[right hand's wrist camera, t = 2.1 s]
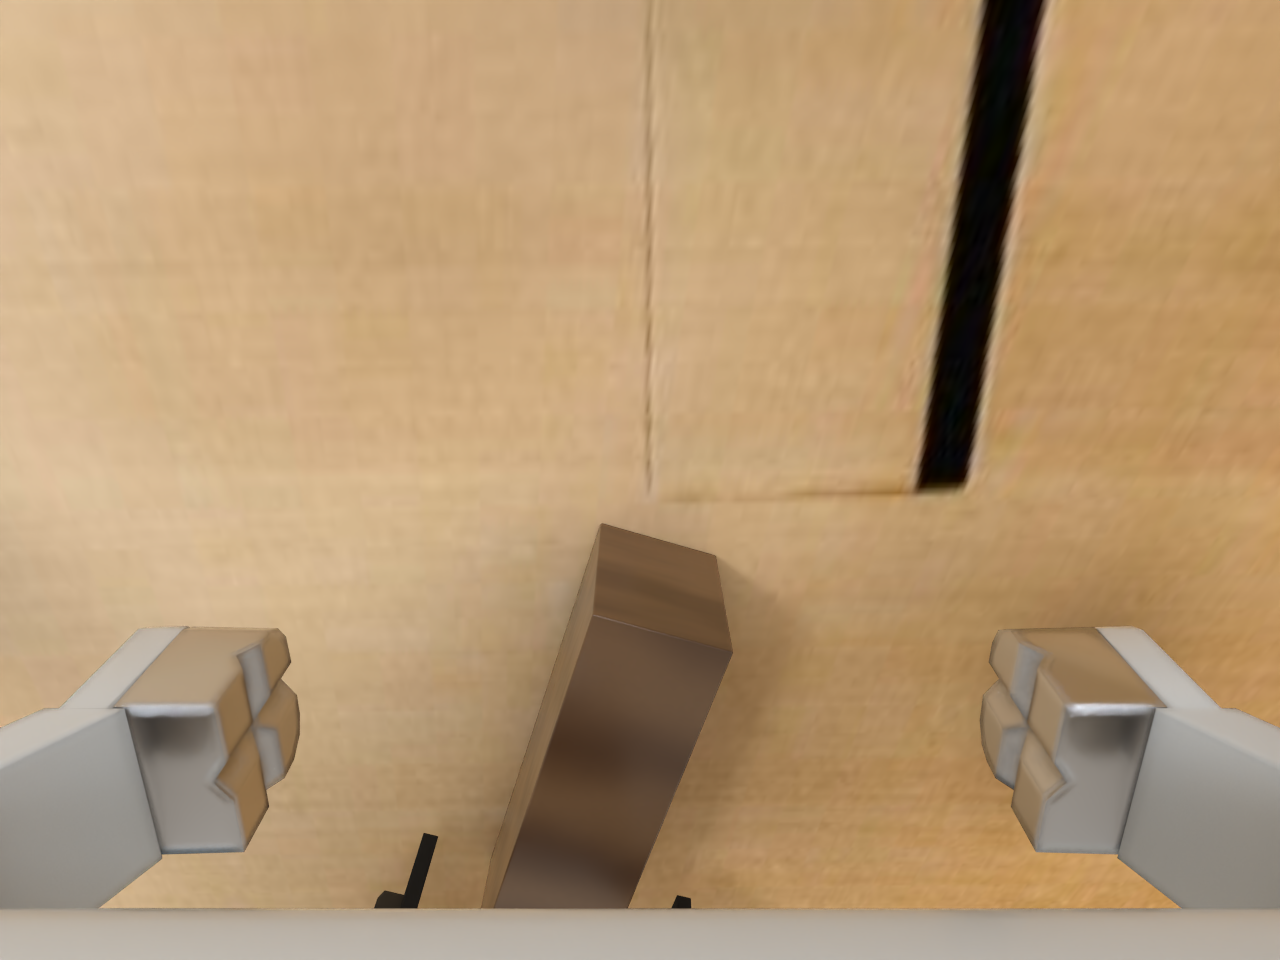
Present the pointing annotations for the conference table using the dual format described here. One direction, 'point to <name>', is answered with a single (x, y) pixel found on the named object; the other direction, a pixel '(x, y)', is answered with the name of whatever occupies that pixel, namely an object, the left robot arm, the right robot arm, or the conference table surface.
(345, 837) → the conference table surface
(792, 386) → the conference table surface
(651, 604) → the box
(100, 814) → the right robot arm
